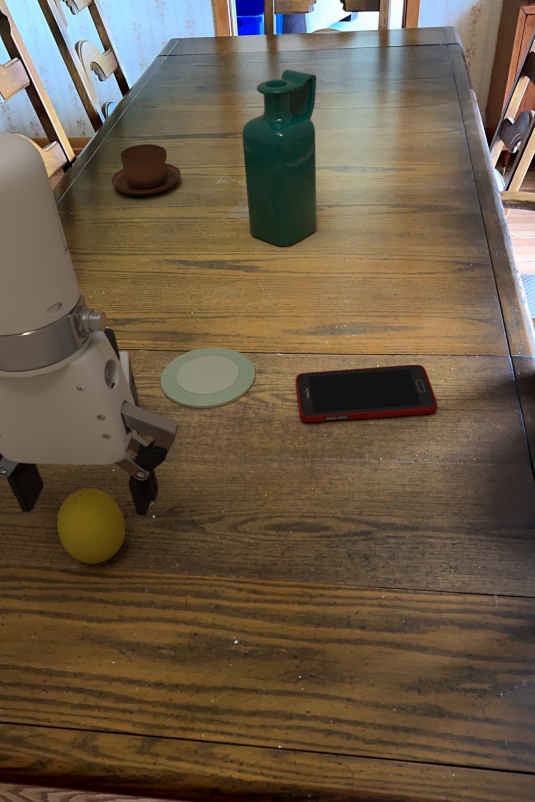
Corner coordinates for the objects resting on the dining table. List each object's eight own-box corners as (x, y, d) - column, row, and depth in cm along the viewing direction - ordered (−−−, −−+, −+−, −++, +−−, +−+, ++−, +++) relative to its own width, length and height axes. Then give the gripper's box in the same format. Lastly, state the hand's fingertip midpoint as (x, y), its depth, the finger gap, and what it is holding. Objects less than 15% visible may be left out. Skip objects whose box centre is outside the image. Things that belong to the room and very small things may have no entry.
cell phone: (438, 414, 76) (439, 407, 75) (300, 424, 76) (300, 417, 75) (423, 370, 82) (423, 363, 81) (294, 379, 82) (294, 373, 81)
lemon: (88, 526, 67) (67, 466, 62) (142, 538, 65) (125, 477, 60) (58, 574, 63) (34, 514, 58) (115, 587, 61) (95, 526, 56)
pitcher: (285, 250, 106) (278, 95, 91) (244, 234, 110) (231, 84, 96) (327, 225, 111) (326, 75, 97) (286, 211, 115) (280, 66, 101)
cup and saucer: (127, 172, 132) (121, 138, 128) (189, 173, 130) (185, 139, 126) (103, 199, 123) (95, 164, 119) (169, 202, 121) (164, 166, 117)
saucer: (151, 407, 80) (150, 403, 79) (171, 349, 88) (170, 345, 88) (249, 409, 78) (248, 406, 78) (260, 350, 87) (259, 347, 86)
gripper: (167, 297, 50) (200, 471, 61) (-64, 299, 52) (7, 466, 63) (142, 361, 44) (183, 540, 55) (-117, 360, 46) (-29, 533, 57)
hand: (89, 501), depth 59 cm, fingers open, 9 cm apart
